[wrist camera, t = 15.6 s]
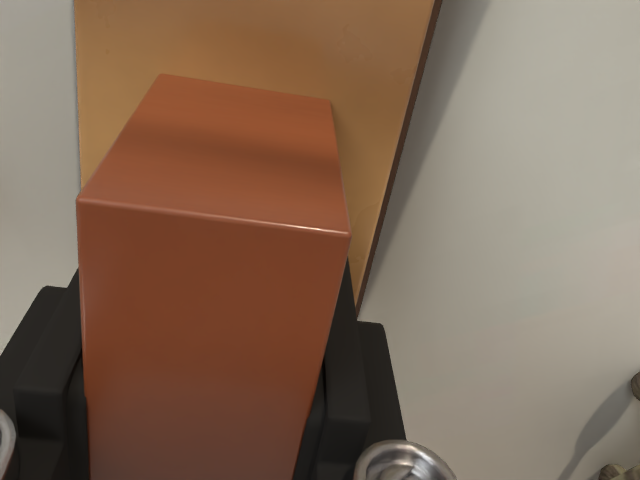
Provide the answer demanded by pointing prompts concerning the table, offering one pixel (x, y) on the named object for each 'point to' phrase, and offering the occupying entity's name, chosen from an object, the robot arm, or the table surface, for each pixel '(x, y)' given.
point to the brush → (226, 216)
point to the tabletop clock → (615, 476)
